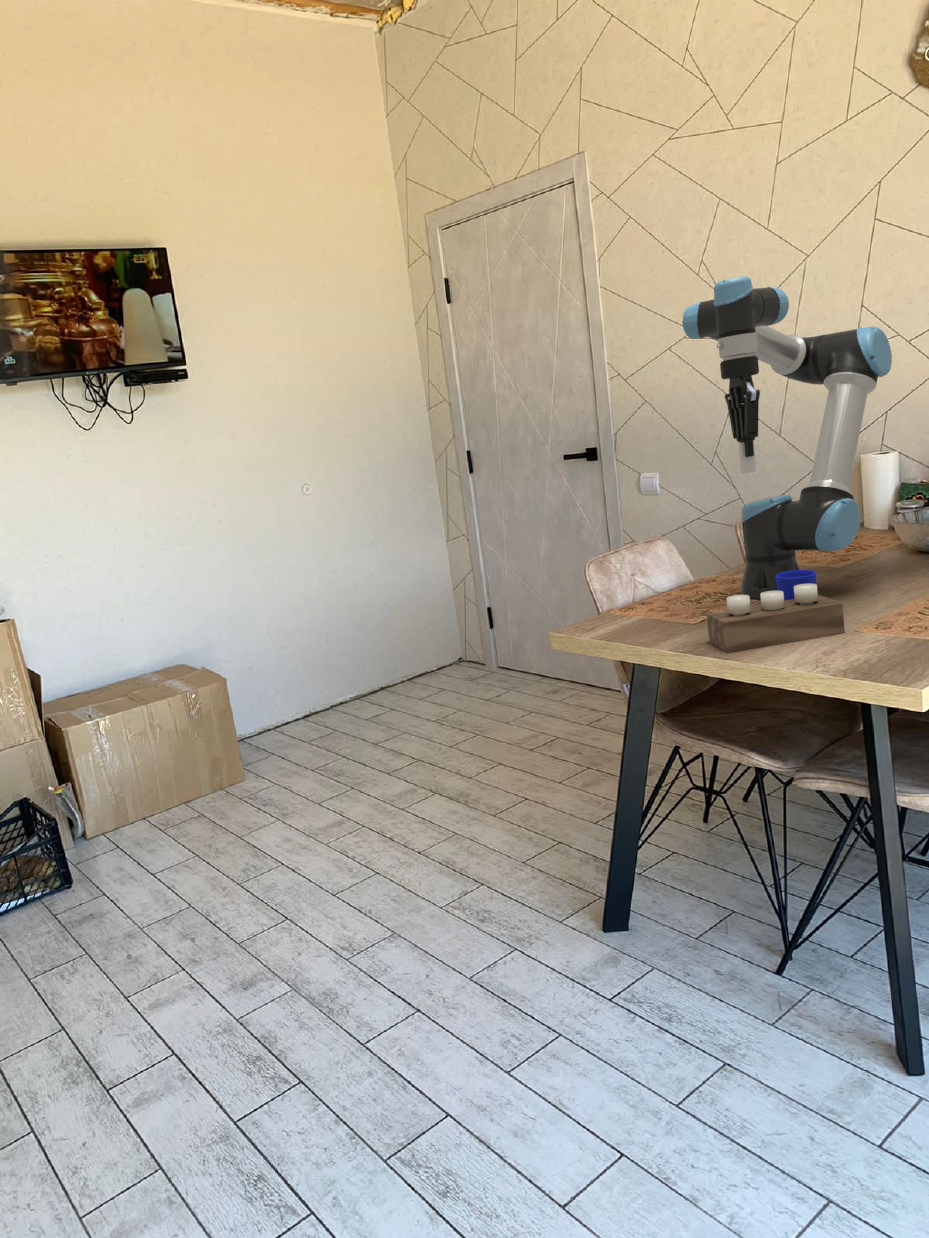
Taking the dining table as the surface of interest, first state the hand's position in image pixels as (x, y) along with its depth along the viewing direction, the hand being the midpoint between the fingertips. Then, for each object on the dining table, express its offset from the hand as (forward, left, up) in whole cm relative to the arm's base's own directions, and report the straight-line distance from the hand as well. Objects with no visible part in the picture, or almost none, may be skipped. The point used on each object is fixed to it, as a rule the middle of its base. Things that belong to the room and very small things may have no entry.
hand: (748, 472), depth 196 cm
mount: (+14, -3, -32) cm, 35 cm away
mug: (+1, +8, -33) cm, 34 cm away
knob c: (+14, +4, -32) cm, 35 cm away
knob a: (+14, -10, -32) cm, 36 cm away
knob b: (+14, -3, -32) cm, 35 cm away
